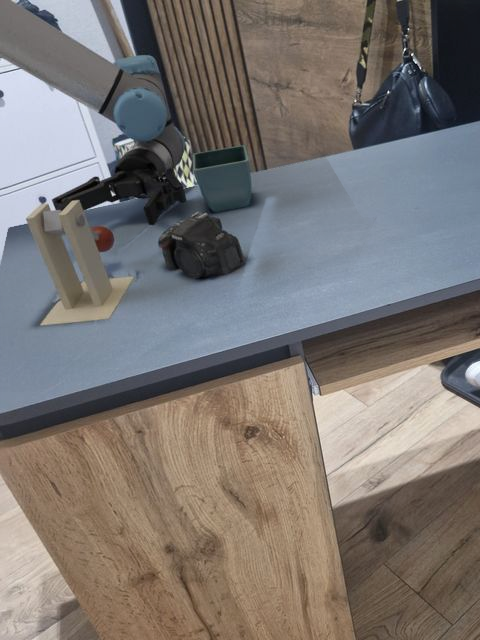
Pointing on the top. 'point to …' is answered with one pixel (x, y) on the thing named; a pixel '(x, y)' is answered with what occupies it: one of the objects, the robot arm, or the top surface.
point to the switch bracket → (75, 297)
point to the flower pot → (224, 177)
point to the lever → (100, 233)
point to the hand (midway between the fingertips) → (101, 221)
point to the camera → (200, 247)
